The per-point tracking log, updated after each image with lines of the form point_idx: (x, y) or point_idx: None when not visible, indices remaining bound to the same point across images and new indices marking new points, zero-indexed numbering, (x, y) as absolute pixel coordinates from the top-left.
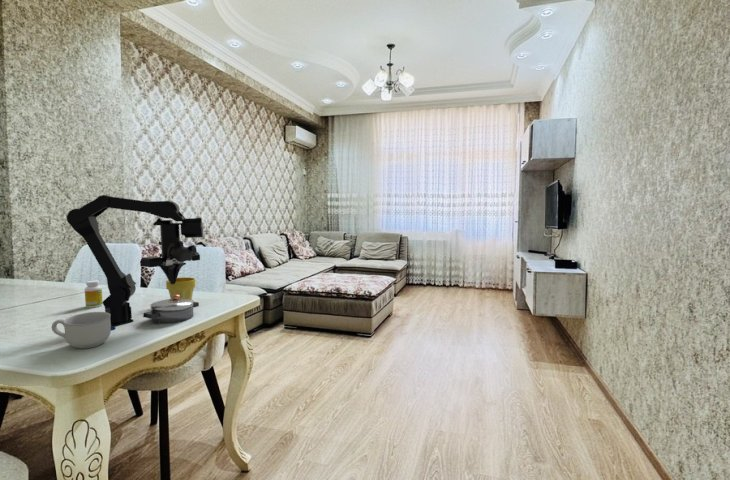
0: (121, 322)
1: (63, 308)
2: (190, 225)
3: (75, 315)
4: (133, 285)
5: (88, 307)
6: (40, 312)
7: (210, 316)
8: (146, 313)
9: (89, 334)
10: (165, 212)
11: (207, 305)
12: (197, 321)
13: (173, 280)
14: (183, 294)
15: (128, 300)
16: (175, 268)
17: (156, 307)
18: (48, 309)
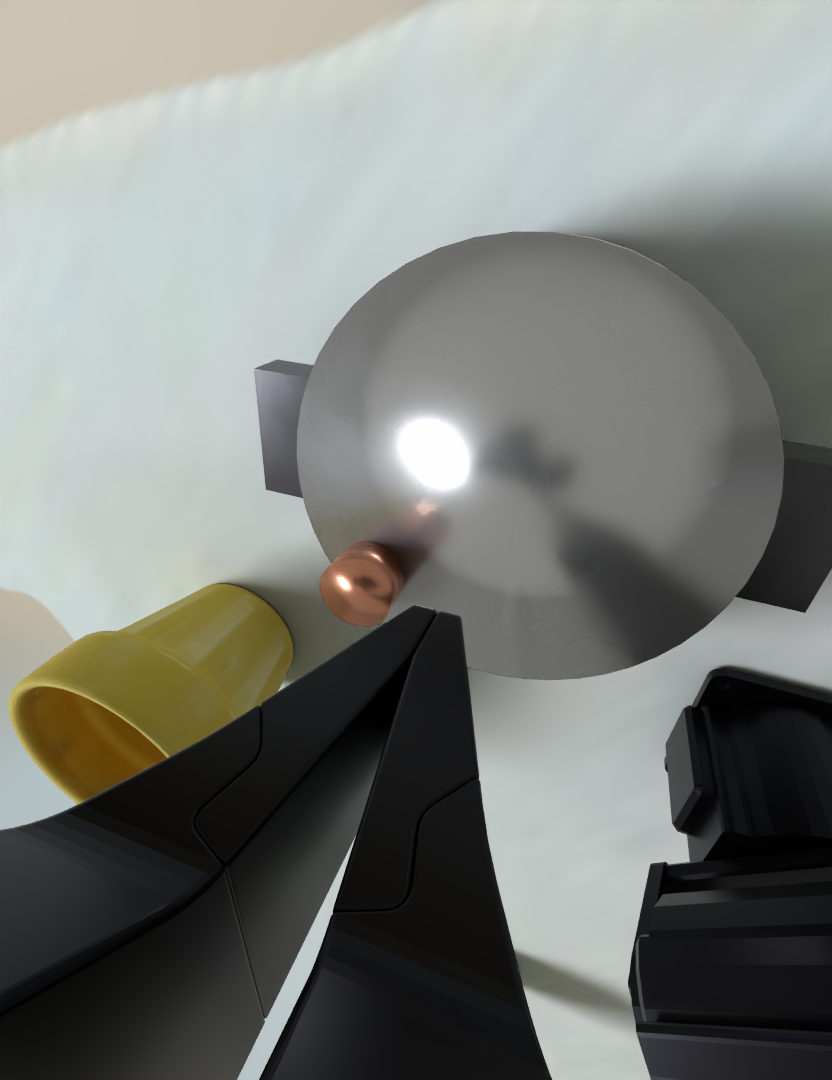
0: (817, 710)
1: (563, 1029)
2: None
3: None
4: (789, 1035)
5: (518, 968)
6: (647, 1072)
7: (343, 85)
8: (828, 567)
9: None
10: None
11: (159, 443)
12: (556, 42)
13: (434, 654)
14: (209, 642)
15: (659, 864)
16: (200, 932)
17: (755, 530)
18: (595, 1061)
